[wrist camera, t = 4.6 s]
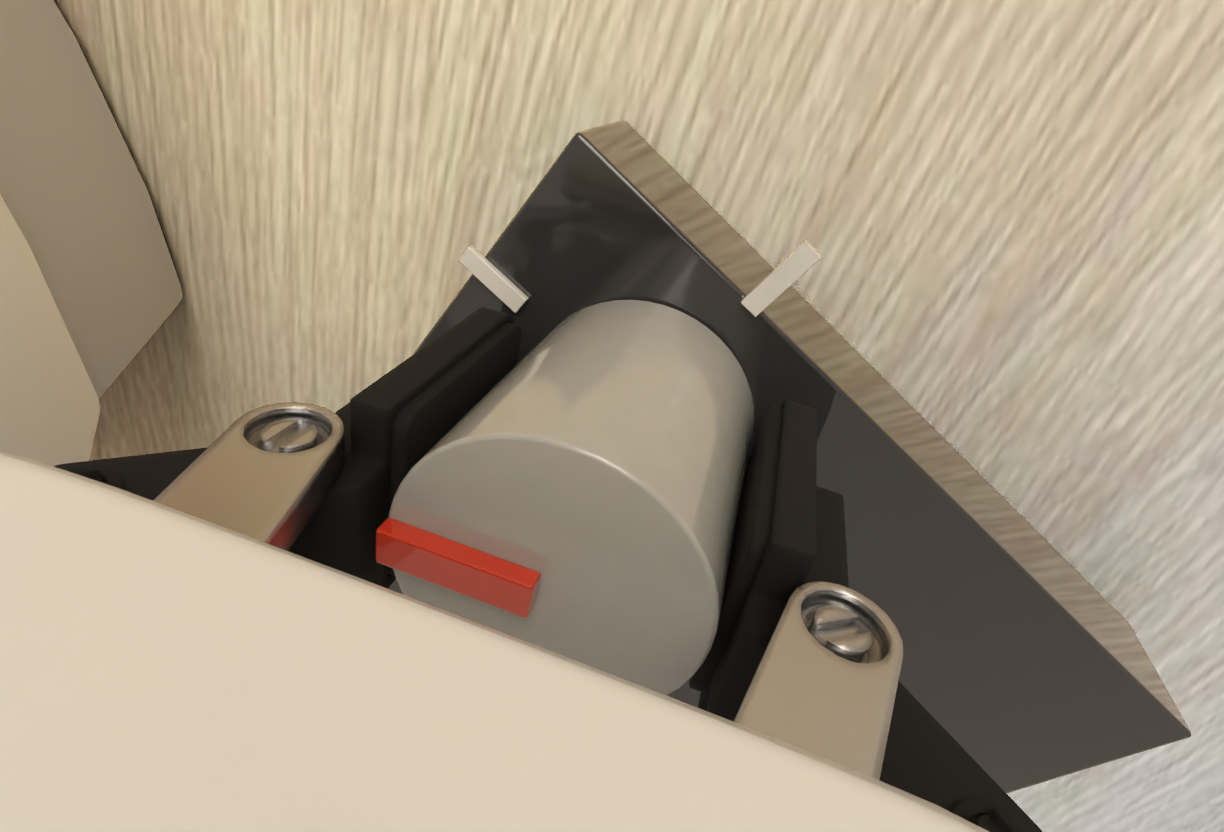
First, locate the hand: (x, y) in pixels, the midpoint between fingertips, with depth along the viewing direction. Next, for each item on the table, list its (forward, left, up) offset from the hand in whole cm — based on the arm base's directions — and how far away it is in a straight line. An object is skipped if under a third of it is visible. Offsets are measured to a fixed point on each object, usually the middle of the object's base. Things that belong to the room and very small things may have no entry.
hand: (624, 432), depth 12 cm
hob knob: (0, 0, -1) cm, 1 cm away
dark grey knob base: (-4, +3, -4) cm, 7 cm away
